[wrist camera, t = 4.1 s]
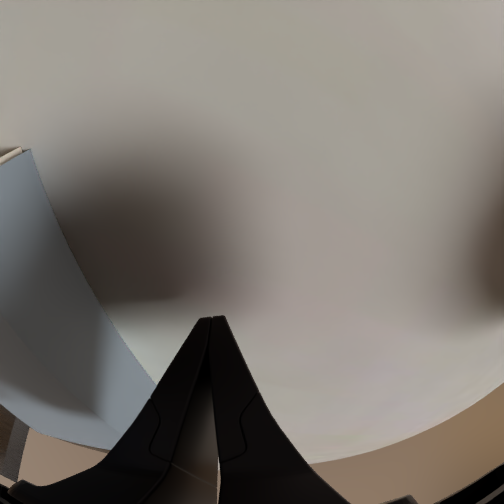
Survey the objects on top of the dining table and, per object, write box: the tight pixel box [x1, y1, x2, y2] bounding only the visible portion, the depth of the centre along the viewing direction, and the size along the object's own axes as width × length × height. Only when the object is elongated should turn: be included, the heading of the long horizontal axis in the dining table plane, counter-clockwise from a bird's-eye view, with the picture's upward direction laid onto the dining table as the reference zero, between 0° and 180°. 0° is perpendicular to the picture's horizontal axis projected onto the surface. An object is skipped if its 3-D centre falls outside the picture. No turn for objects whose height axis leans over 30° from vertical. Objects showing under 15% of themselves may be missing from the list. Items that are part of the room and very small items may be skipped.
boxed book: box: [0, 147, 157, 450], centre depth 9 cm, size 14×9×4 cm, turn 8°
